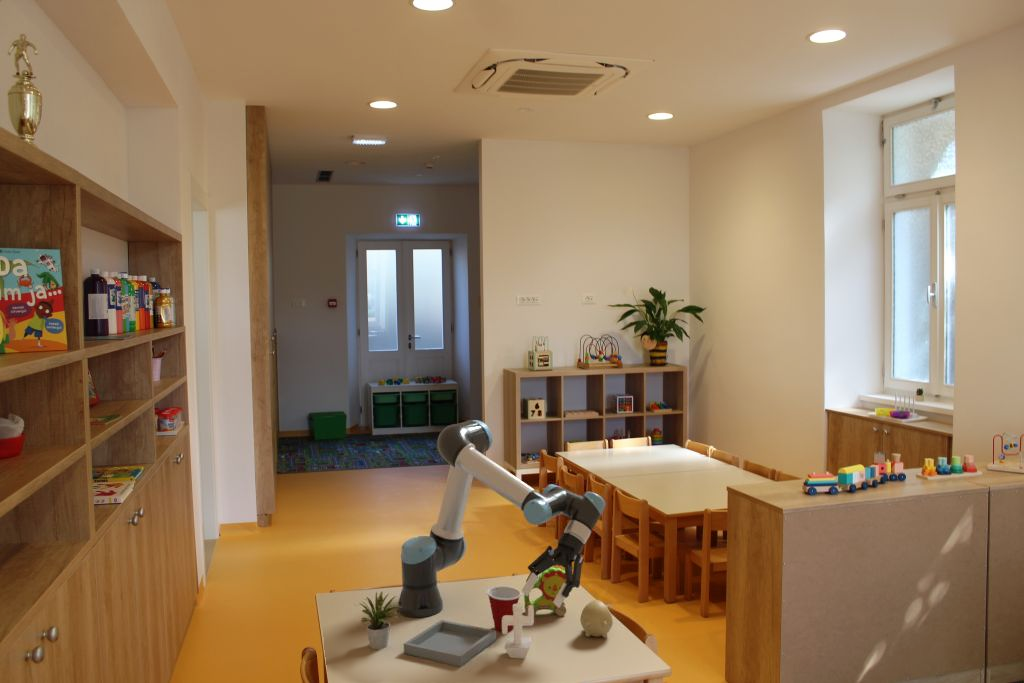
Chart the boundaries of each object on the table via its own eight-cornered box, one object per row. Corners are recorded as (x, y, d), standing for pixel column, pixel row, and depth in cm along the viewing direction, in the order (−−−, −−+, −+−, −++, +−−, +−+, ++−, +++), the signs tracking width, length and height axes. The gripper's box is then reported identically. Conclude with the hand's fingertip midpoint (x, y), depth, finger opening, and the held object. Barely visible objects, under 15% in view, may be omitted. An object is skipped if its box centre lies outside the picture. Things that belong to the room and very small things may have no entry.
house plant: (373, 662, 234) (371, 606, 233) (343, 649, 243) (341, 596, 242) (410, 645, 245) (408, 592, 244) (380, 634, 254) (378, 582, 253)
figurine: (504, 649, 241) (502, 599, 240) (535, 650, 239) (534, 600, 239) (501, 659, 233) (499, 608, 233) (533, 660, 232) (532, 609, 232)
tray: (403, 653, 239) (403, 643, 239) (441, 629, 257) (441, 619, 257) (461, 666, 230) (460, 656, 229) (496, 640, 247) (496, 630, 247)
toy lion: (525, 617, 264) (523, 571, 264) (524, 611, 270) (523, 566, 269) (573, 615, 265) (572, 570, 264) (571, 609, 270) (570, 564, 270)
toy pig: (612, 646, 249) (614, 614, 256) (611, 628, 241) (613, 595, 248) (580, 644, 251) (583, 611, 258) (578, 625, 242) (581, 593, 250)
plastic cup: (518, 636, 249) (517, 598, 249) (484, 634, 252) (483, 596, 251) (525, 622, 260) (524, 586, 260) (492, 621, 262) (491, 584, 262)
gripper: (610, 553, 242) (576, 616, 233) (552, 537, 261) (518, 595, 252) (597, 540, 239) (563, 603, 230) (539, 524, 257) (505, 582, 248)
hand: (540, 599), depth 241 cm, fingers open, 13 cm apart
